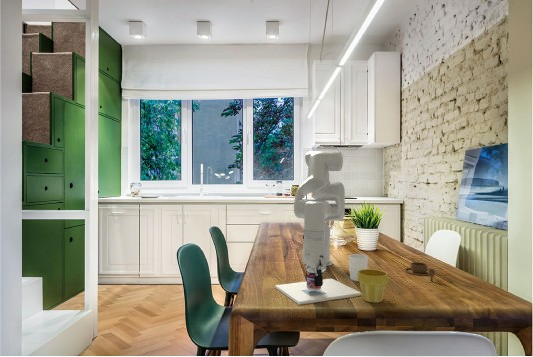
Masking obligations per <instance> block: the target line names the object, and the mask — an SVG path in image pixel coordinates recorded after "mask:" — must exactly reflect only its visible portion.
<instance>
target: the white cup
mask: <svg viewBox="0 0 533 357" xmlns="http://www.w3.org/2000/svg"><path fill="white" fill-rule="evenodd" d="M368 258H369V256H368V255H366V254H360V253H359V254H357V253H351V254H349V255H348V268H349V269H348V270H349V279H350V280H351V281H354V282H359V281H358V271H359V270H362V269H368V263H369V262H368V261H369V260H368Z"/></svg>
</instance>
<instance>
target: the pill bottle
mask: <svg viewBox="0 0 533 357" xmlns="http://www.w3.org/2000/svg"><path fill="white" fill-rule="evenodd" d="M318 266H319V265H318ZM318 266H317V267H318ZM317 269H318V270H319V269H320V268H317ZM314 275H315V269H314V268H313V267H310V266H309V268H307V281H306V282H307V289H309V290H314V291H317V290H320V289H321V286H317V287H315V286H314Z"/></svg>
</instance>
